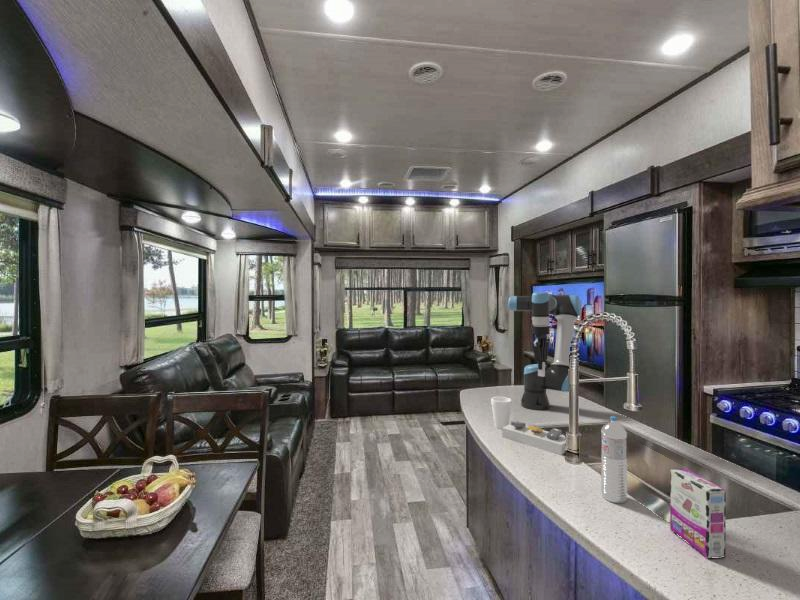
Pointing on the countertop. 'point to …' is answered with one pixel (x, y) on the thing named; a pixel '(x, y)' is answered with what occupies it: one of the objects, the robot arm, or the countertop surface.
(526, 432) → the grey tray
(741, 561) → the countertop surface
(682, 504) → the candy bar box
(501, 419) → the foam cup
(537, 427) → the yellow sponge
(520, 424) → the rocker
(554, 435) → the rocker
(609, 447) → the water bottle
